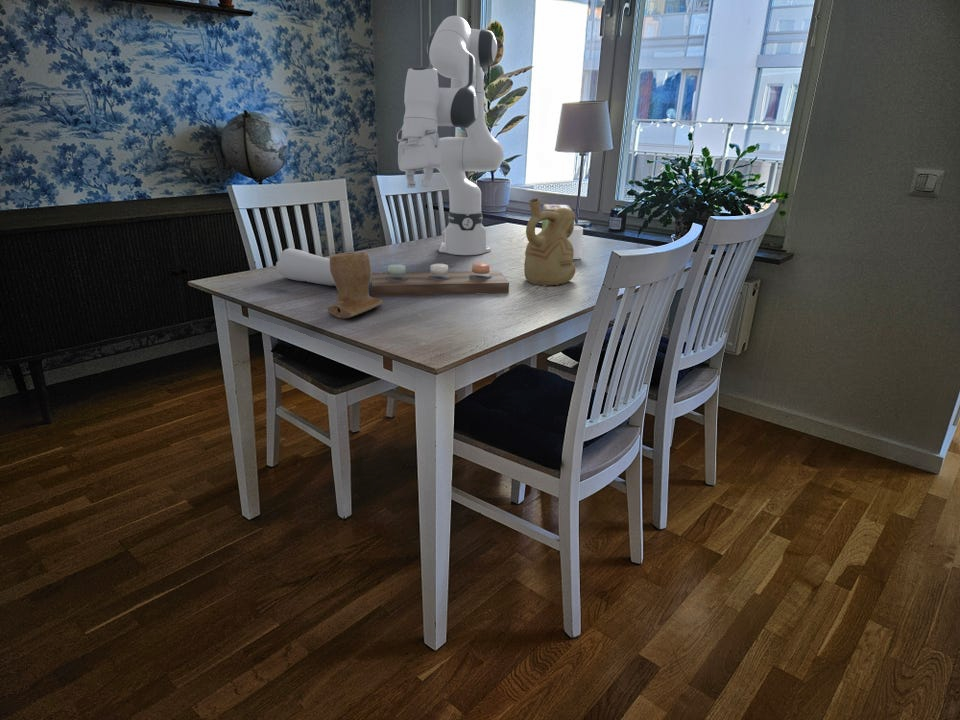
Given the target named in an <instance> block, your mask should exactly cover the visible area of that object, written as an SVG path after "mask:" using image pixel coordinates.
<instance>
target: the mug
mask: <svg viewBox="0 0 960 720" xmlns="http://www.w3.org/2000/svg"><path fill="white" fill-rule="evenodd" d="M583 235H584V227H582V226H579V225H574V229H573V232H572V234H571V235H570V237H568V238H567V239H568V241H569V242H570V243H571V244H572V246H573V251H574V255H573V259H578V260H580V259H581V258H582V246H583ZM579 258H580V259H579Z"/></svg>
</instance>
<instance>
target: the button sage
mask: <svg viewBox="0 0 960 720" xmlns="http://www.w3.org/2000/svg"><path fill="white" fill-rule="evenodd" d="M406 269H407V268H406V265H405V264H401V263H400V264H389V265H388V266H387V273H388V274H389V275H394V276H400V275H405V274H406V272H407V271H406Z"/></svg>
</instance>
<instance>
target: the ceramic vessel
mask: <svg viewBox="0 0 960 720" xmlns="http://www.w3.org/2000/svg"><path fill="white" fill-rule="evenodd" d="M528 204H529V207H530V218H529V220H528V221H527V224H526V227H525V228H526V229H525V236H526V239H527V241H528V243H527V245H526V247H525V252H524V255H525V256H524V257H525V258H524V265H523V267H524V268H523V269H524V272H523V273H524V277H525V279H526V281H528V283H531V284H533V285H537V284H538V285H537V286H543V285H556V286H560V285H559V284H562V285H565V284H567V283H569V280H570V281H571V280H572V279H573V278H574V276H575V274H576V270H577V269H576V266H575V264H574V263H573V261H574V260H573V255H574V251H573V246H572V244H571V243H570V242H569V241H568V239H567V238H568V237H570V235H571V234H572V232H573V229H574V226H575V220H576V214H575V212H573V210H572V211H571V210H569V209H567V208H559V209H557V210H555V211H554V212H551V211H544V212H543V211H541V200H540V199H539V198H532V199H529V200H528ZM546 219H547V220H548V222H547V225H546V227H545V228H544V229H543V230H542V229H541V231H540V232H538V233H536V226H537V225H538V223H540V222H542V220H546ZM564 283H565V284H564Z"/></svg>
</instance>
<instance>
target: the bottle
mask: <svg viewBox="0 0 960 720" xmlns="http://www.w3.org/2000/svg"><path fill="white" fill-rule="evenodd" d="M279 257H280V259H279V260H278V261H276V263H275V265H276V266H275V267H276V269H277V272H278V273H279V275H281V276H282V277H284V278H286V279H289V280H292V281H295V282H296V281H297V282H305V281H306V283H312V284H318V285H323V286H329V287H334V286H335V287H336V285H335V282H334V279H333V277H332V274H331V271H330V258H328V257H325V256H321V255H318V254H313V253H310V252H307V251H305V250H301V249H295V248H292V247H289V248H285V249H284V250H282V251H281V252H280V253H279ZM370 282H371V281H370ZM370 282H369V284H370Z"/></svg>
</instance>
